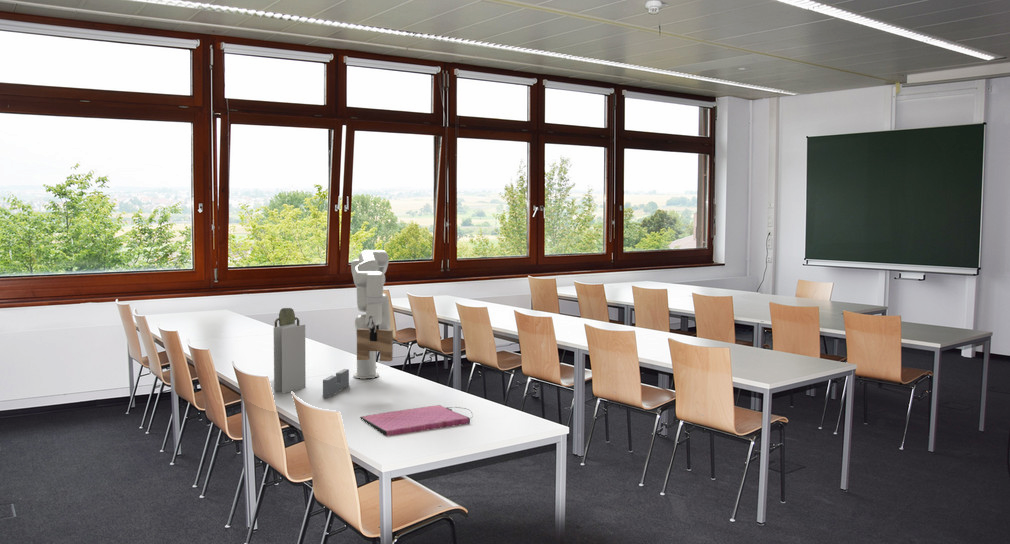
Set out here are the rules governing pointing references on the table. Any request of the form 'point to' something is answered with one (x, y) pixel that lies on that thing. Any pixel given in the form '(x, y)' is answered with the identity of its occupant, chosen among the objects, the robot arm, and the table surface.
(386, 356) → the walnut plate
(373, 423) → the laptop bag
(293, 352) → the tall grey pillar
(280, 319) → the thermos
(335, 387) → the stepped grey block
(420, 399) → the table surface
